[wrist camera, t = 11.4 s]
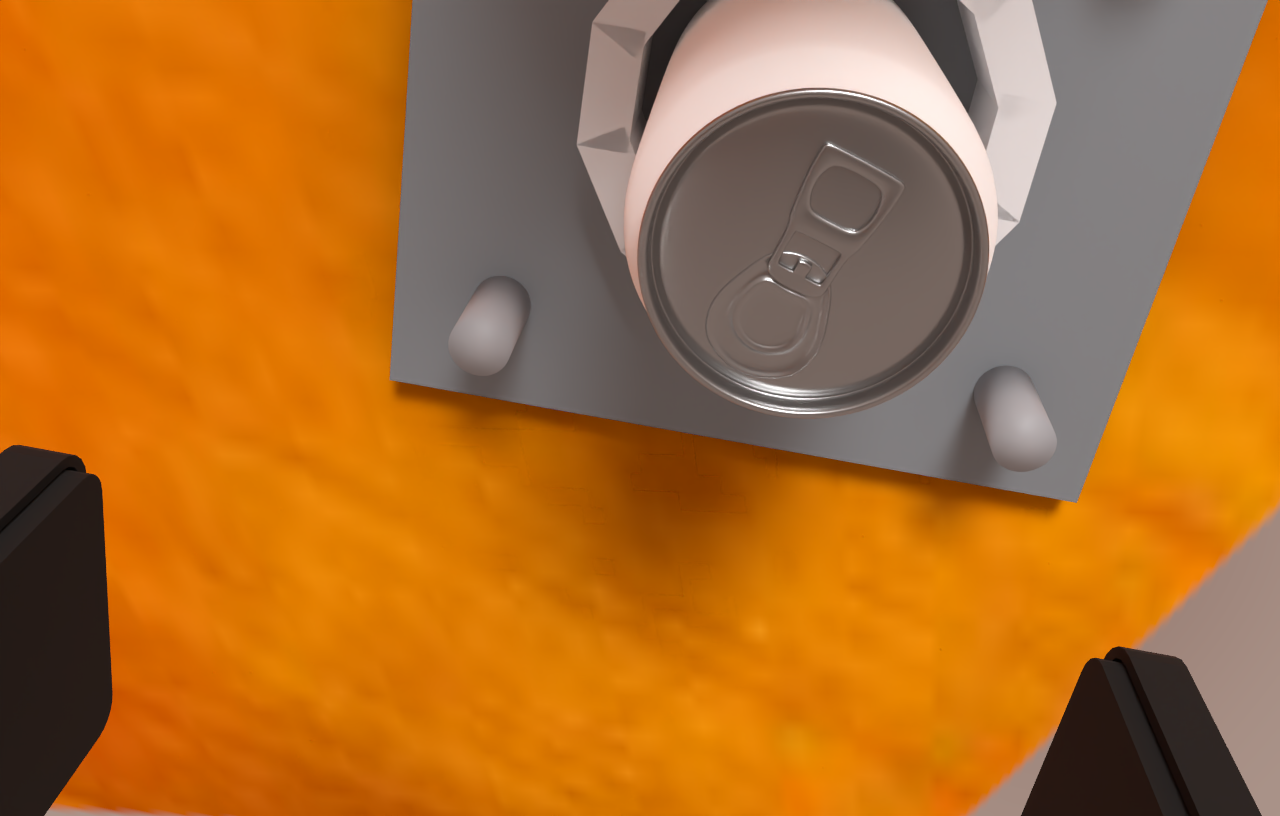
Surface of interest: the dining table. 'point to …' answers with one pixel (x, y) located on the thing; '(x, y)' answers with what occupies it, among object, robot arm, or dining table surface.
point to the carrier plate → (604, 329)
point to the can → (808, 206)
